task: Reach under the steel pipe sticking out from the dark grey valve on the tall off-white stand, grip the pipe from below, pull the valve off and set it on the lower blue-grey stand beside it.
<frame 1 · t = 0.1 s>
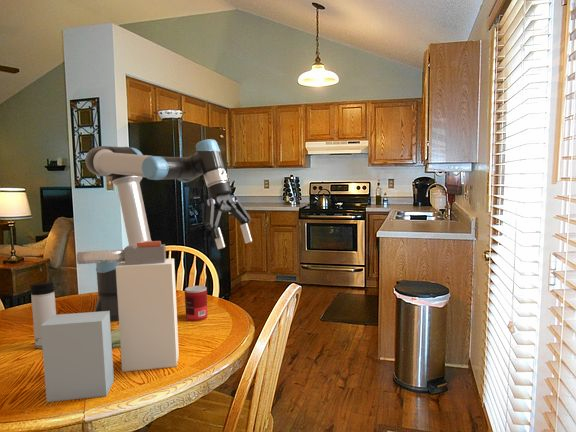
hand: (235, 245, 146), 28 cm above the table, tool tilted 20°, fingers open, 13 cm apart
travel mug: (46, 346, 136), on the table
low stand: (81, 390, 106), on the table
washcloth: (138, 339, 140), on the table
pepper mill: (156, 297, 188), on the table
canned food: (197, 318, 159), on the table
pipe valve: (126, 263, 118), point 28 cm above the table, touching tall stand
tall stand: (151, 362, 121), on the table
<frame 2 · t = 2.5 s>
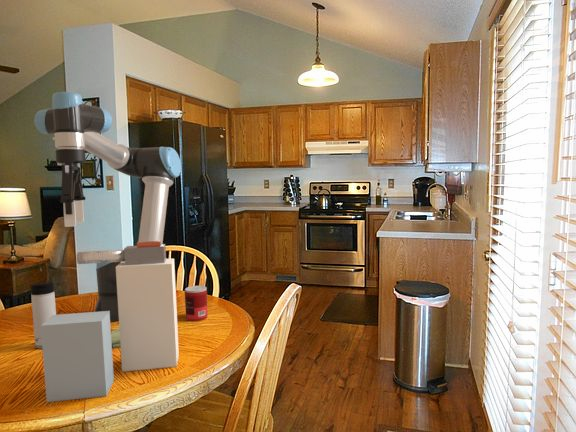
hand: (74, 224, 125), 38 cm above the table, tool pointing down, fingers open, 13 cm apart
nothing on the table moved.
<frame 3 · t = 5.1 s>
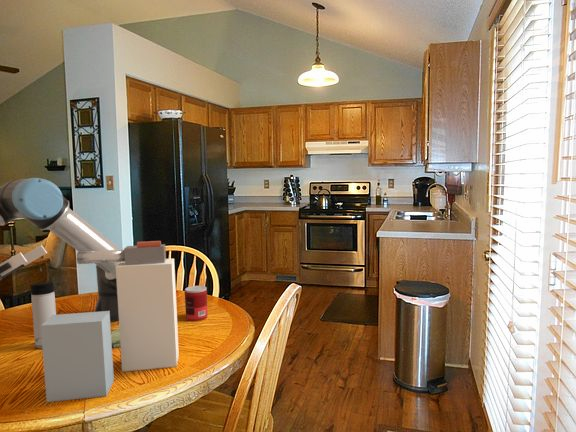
hand: (34, 252, 114), 32 cm above the table, tool pointing upward, fingers open, 13 cm apart
nothing on the table moved.
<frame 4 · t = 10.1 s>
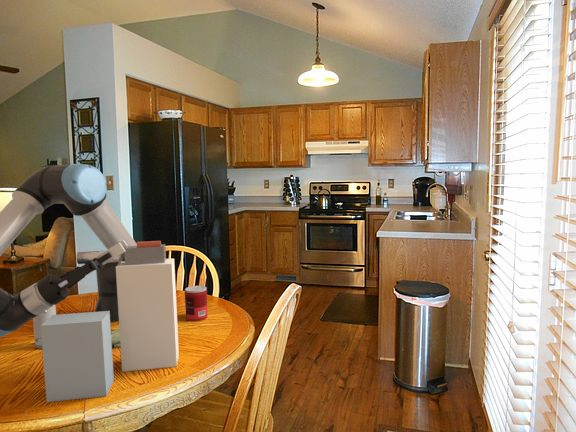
hand: (124, 245, 117), 33 cm above the table, tool pointing upward, fingers closed on pipe valve, 4 cm apart
pipe valve: (126, 263, 118), point 28 cm above the table, touching gripper, tall stand
everything else where it was.
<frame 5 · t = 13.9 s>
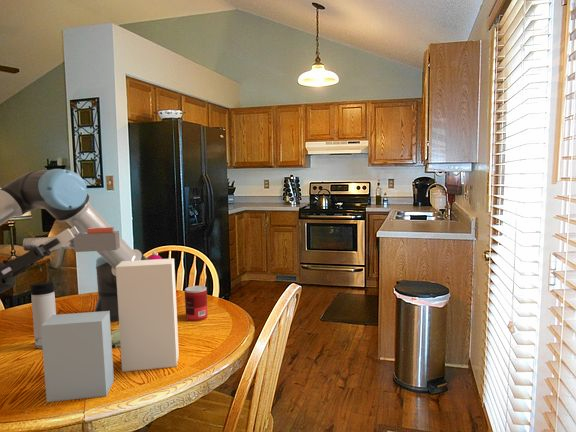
hand: (74, 232, 112), 37 cm above the table, tool pointing upward, fingers closed on pipe valve, 4 cm apart
pipe valve: (77, 250, 112), point 33 cm above the table, touching gripper
everything else where it was.
when the fingers open (26 cm above the table, at t = 18.0 s): pipe valve drops 3 cm, resting on low stand.
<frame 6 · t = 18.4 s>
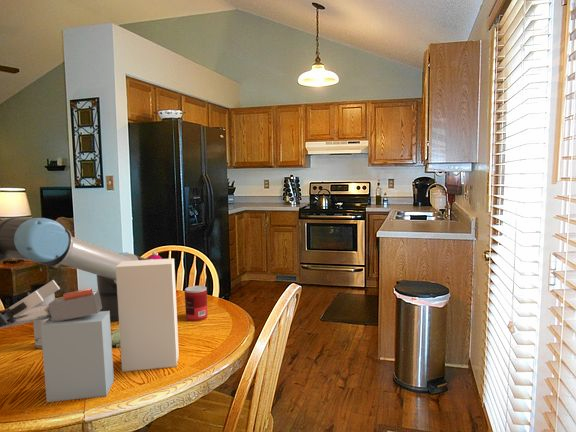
hand: (48, 289, 103), 25 cm above the table, tool pointing upward, fingers open, 10 cm apart
pipe valve: (56, 319, 103), point 18 cm above the table, tilted 8°, touching low stand
everything else where it was.
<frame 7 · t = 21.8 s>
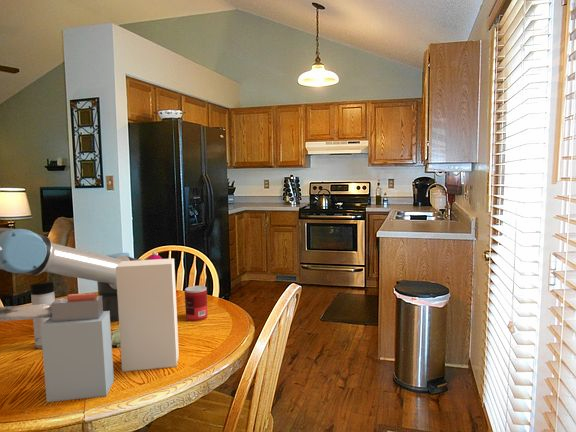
pipe valve: (56, 319, 103), point 18 cm above the table, touching low stand
everything else where it was.
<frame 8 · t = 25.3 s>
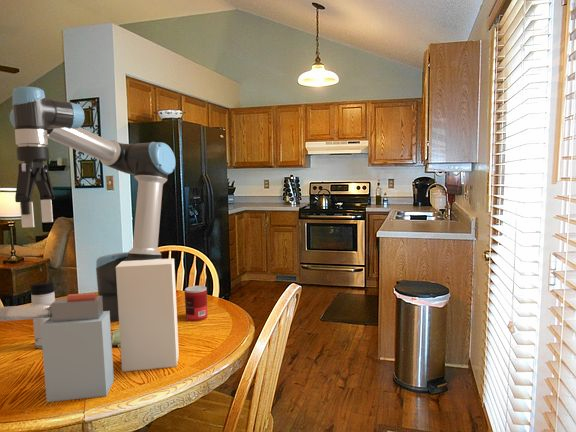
hand: (38, 224, 121), 39 cm above the table, tool pointing down, fingers open, 13 cm apart
nothing on the table moved.
at the end: pipe valve inside the target area (1.7 cm from its centre), point 18.0 cm above the table; the gripper is holding nothing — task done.
